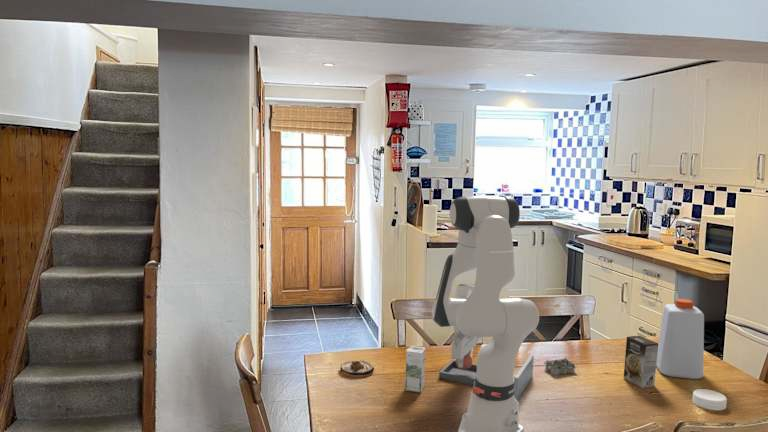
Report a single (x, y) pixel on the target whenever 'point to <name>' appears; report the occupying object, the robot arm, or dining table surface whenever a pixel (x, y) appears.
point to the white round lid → (709, 399)
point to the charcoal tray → (458, 373)
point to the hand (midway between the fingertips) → (464, 363)
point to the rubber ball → (466, 362)
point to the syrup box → (415, 369)
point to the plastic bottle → (681, 341)
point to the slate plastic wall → (523, 377)
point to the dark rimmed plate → (357, 369)
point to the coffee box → (640, 361)
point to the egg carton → (559, 366)
